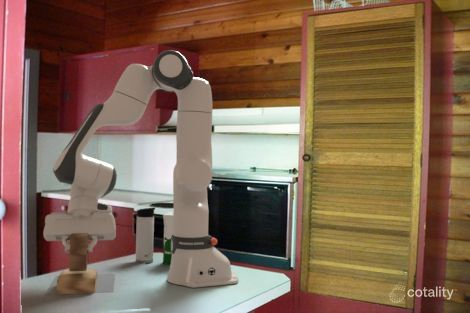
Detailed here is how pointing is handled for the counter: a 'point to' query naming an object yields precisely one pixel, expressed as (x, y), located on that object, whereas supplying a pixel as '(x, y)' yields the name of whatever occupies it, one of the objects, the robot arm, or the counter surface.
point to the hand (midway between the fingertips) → (78, 251)
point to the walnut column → (78, 252)
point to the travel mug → (145, 235)
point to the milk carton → (168, 237)
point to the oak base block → (77, 282)
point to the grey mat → (103, 285)
